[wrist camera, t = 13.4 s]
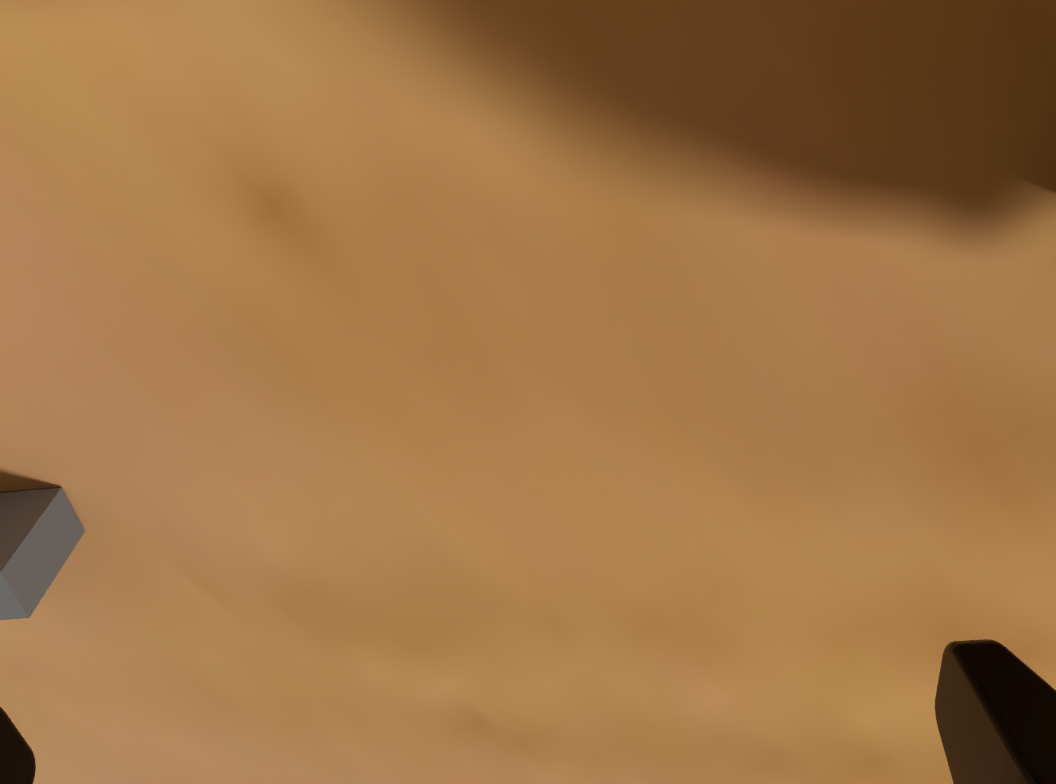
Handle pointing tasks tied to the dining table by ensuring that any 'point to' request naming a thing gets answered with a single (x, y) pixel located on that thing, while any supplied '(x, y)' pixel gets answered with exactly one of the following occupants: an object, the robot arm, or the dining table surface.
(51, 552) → the frame
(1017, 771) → the robot arm
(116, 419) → the dining table surface
